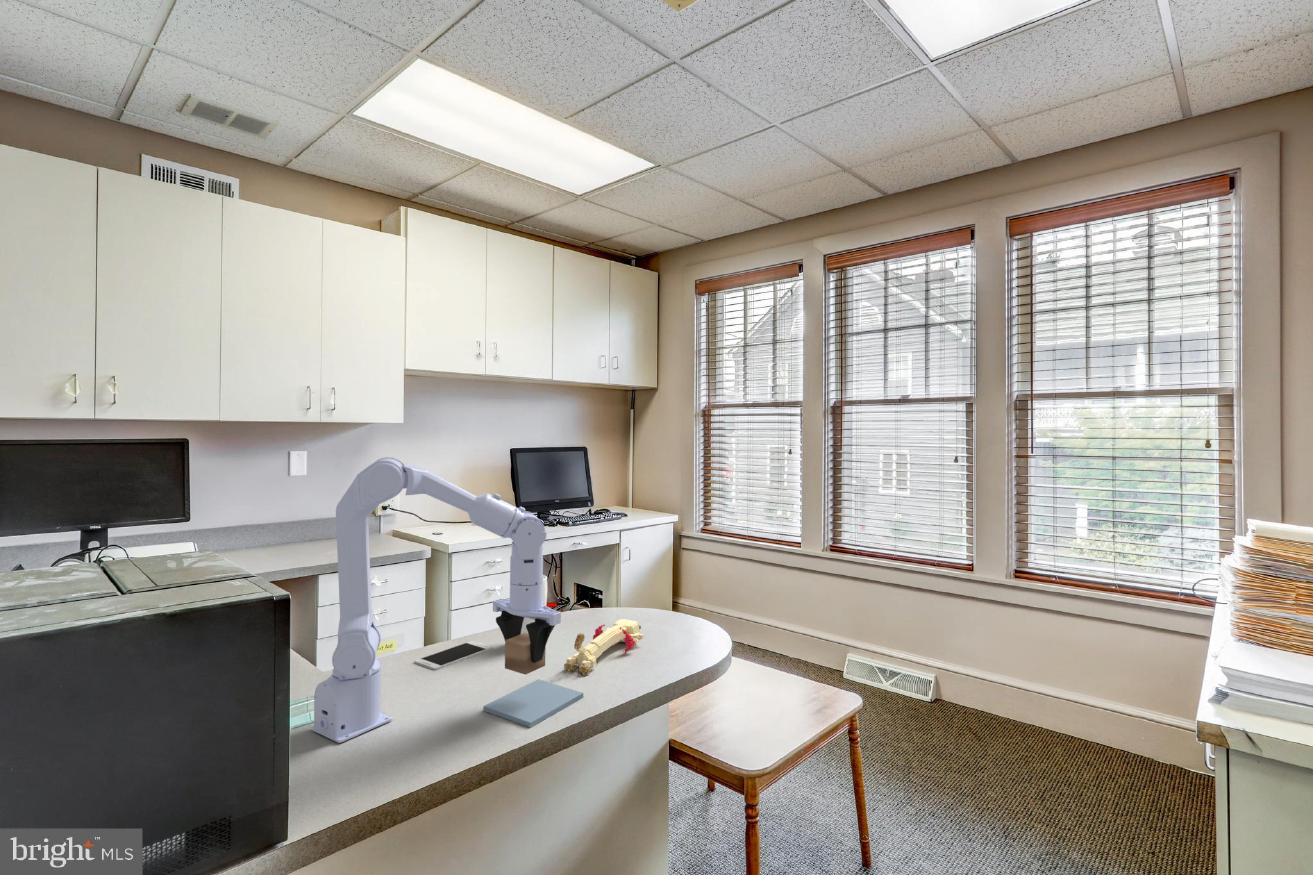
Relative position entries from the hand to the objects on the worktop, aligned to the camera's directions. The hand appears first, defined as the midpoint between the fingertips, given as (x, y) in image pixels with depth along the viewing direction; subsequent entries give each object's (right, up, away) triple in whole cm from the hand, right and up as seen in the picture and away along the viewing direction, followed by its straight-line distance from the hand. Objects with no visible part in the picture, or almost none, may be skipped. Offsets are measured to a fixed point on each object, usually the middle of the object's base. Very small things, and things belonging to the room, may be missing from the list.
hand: (525, 657), depth 114 cm
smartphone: (-20, -8, +23) cm, 31 cm away
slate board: (+2, -8, 0) cm, 8 cm away
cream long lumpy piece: (+13, -8, +26) cm, 30 cm away
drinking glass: (-5, -8, +31) cm, 33 cm away
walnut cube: (0, -2, 0) cm, 2 cm away
